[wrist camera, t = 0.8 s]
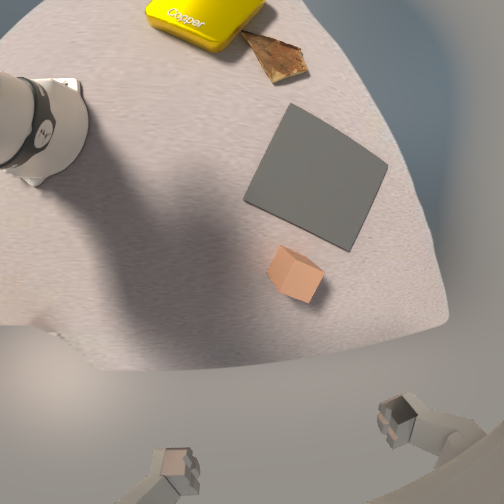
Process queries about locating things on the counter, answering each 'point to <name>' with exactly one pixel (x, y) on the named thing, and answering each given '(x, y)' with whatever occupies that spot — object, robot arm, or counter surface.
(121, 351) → the counter surface
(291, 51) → the shard
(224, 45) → the element tile
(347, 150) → the charcoal mat
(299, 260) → the terracotta block
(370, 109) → the counter surface
